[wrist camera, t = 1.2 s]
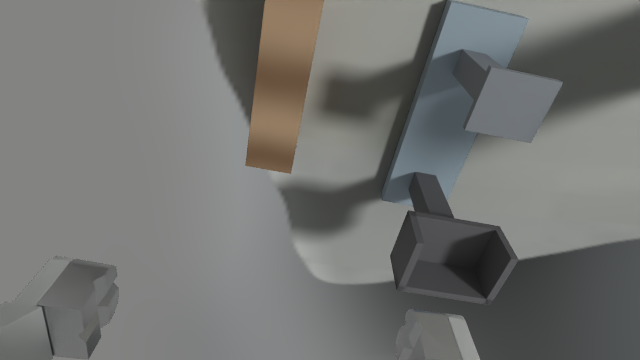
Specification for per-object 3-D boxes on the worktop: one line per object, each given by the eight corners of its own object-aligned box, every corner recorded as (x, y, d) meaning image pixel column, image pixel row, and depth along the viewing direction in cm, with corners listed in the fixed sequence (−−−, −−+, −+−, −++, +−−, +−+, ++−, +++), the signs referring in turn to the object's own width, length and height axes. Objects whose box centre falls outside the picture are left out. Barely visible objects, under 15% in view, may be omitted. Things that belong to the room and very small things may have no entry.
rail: (280, -55, 29) (270, -51, 24) (330, -44, 29) (330, -37, 24) (256, 132, 37) (245, 165, 32) (295, 139, 37) (290, 173, 32)
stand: (441, -3, 30) (505, 39, 19) (528, 17, 31) (638, 69, 20) (376, 192, 40) (394, 295, 29) (444, 204, 40) (487, 309, 29)
